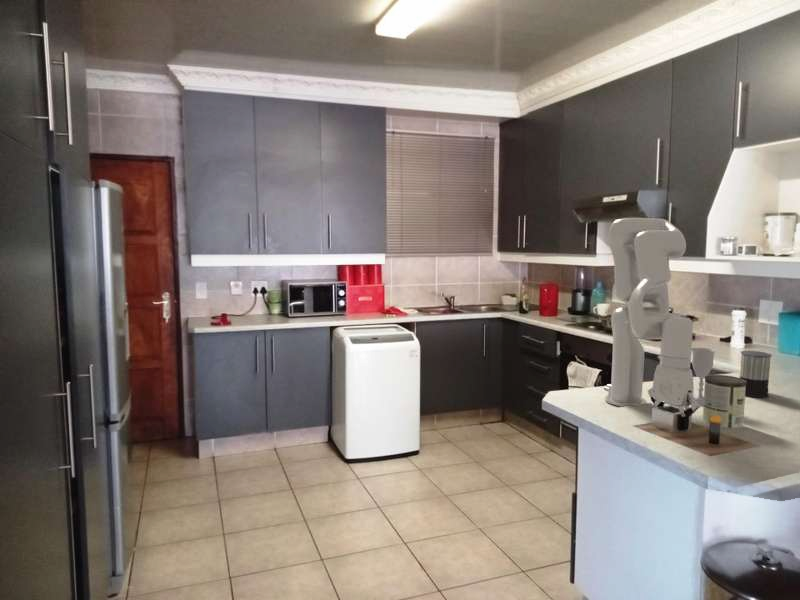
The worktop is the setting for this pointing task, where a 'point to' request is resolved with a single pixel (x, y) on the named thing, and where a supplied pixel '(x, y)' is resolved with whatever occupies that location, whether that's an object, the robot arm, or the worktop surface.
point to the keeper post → (714, 429)
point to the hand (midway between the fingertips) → (671, 425)
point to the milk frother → (755, 373)
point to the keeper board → (700, 439)
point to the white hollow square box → (667, 418)
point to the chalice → (702, 367)
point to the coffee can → (725, 399)
